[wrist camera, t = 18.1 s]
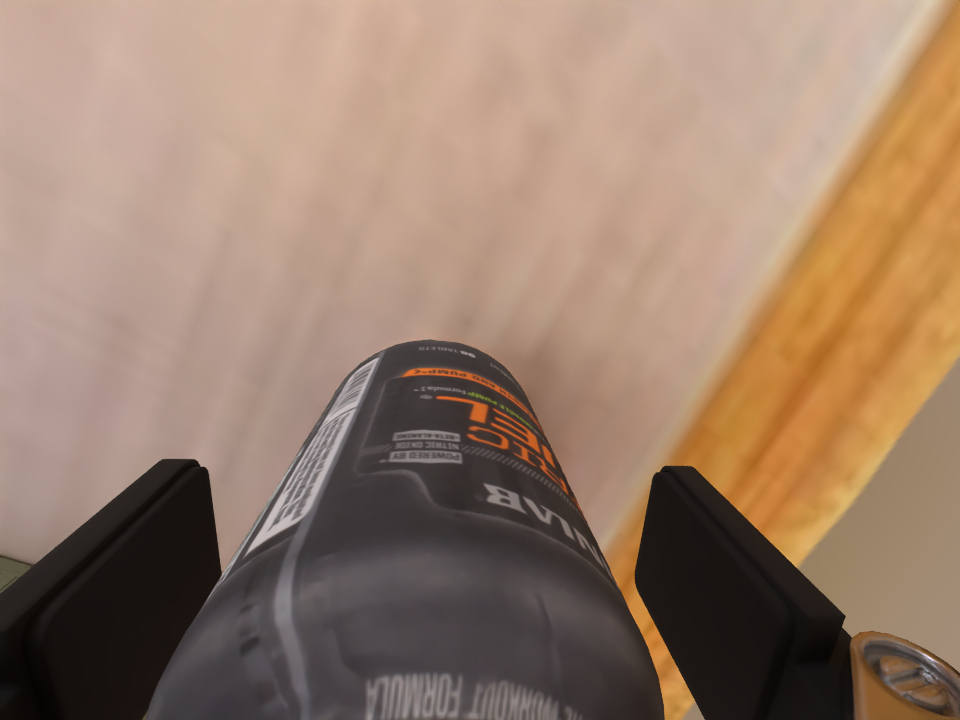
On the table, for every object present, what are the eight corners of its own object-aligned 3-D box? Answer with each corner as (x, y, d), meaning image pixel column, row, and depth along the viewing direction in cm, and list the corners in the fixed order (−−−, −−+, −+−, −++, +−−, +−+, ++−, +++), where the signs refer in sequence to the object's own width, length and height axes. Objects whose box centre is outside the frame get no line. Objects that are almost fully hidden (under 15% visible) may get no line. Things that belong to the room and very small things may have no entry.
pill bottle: (572, 420, 13) (1111, 1230, 3) (444, 551, 14) (457, 1527, 4) (415, 289, 12) (186, 963, 1) (284, 446, 13) (-502, 1594, 2)
